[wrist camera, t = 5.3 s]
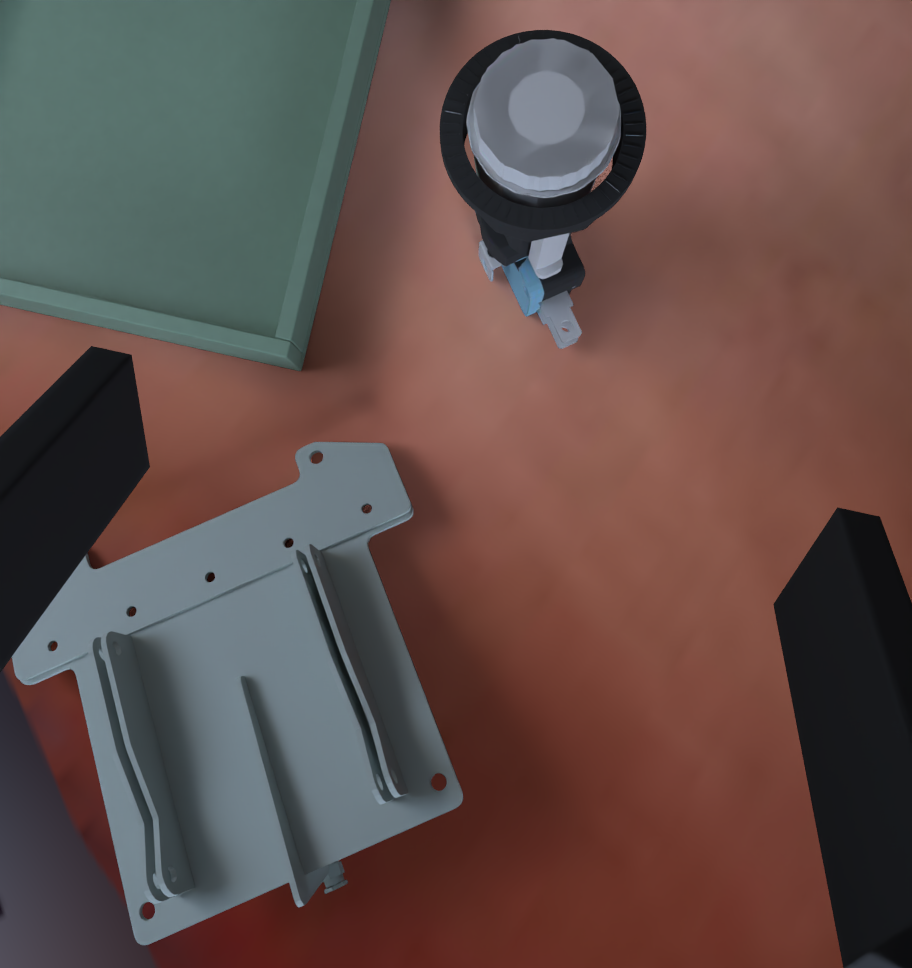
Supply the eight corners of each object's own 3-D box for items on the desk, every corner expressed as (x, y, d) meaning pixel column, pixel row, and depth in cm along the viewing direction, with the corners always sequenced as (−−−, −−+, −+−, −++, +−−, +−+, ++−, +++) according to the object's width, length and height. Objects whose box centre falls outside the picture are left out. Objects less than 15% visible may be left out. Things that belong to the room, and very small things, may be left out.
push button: (630, 320, 29) (715, 207, 19) (499, 379, 29) (515, 298, 19) (555, 162, 29) (599, -30, 19) (426, 220, 29) (403, 57, 19)
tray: (301, 371, 29) (286, 357, 26) (-112, 280, 29) (-161, 258, 27) (417, -106, 30) (412, -160, 28) (16, -187, 30) (-20, -246, 28)
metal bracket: (534, 809, 22) (46, 1025, 22) (539, 796, 27) (150, 969, 27) (362, 395, 27) (-36, 569, 27) (396, 454, 32) (66, 598, 32)
